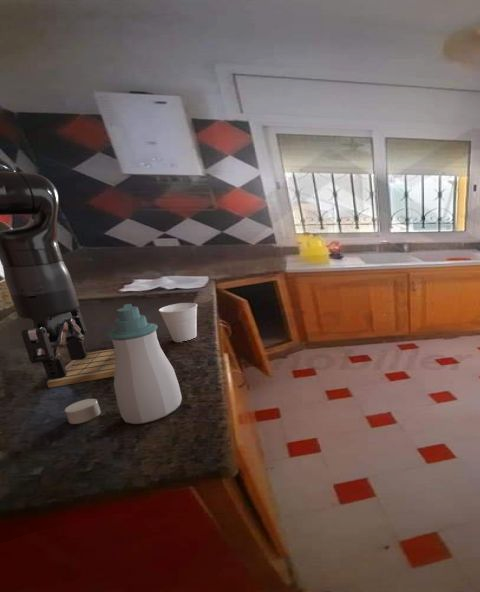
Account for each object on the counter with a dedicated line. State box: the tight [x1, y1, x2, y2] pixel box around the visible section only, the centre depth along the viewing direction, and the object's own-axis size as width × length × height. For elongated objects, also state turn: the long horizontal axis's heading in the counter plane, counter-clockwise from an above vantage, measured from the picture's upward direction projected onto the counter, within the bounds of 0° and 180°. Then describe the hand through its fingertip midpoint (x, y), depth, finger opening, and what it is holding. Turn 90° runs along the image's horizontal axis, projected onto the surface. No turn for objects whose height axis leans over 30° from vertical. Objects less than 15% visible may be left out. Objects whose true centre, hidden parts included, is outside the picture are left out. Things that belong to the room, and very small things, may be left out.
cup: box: [158, 302, 198, 343], centre depth 101 cm, size 10×10×11 cm
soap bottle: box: [106, 303, 183, 425], centre depth 64 cm, size 10×10×23 cm
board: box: [46, 348, 116, 389], centre depth 86 cm, size 17×17×2 cm
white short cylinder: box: [64, 398, 102, 425], centre depth 64 cm, size 5×5×3 cm
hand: (69, 367), depth 62 cm, fingers open, 8 cm apart
